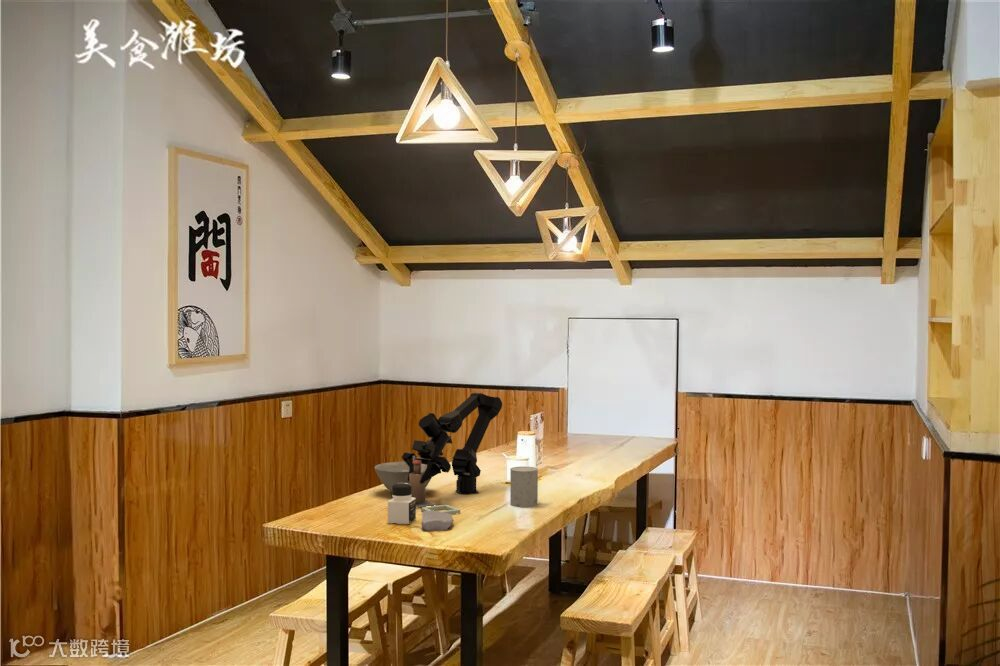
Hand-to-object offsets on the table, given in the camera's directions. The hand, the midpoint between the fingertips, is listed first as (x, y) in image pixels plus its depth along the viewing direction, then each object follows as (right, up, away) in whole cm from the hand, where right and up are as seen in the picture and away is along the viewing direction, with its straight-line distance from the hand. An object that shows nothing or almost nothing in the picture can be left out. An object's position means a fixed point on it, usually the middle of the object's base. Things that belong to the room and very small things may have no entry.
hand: (414, 481), depth 308 cm
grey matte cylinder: (+37, -8, +2) cm, 38 cm away
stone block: (+10, -9, -30) cm, 33 cm away
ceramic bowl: (-5, -8, +21) cm, 23 cm away
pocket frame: (+10, -8, -10) cm, 16 cm away
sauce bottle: (+1, -7, +1) cm, 7 cm away
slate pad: (+1, -8, +1) cm, 8 cm away
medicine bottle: (-2, -9, -24) cm, 25 cm away
